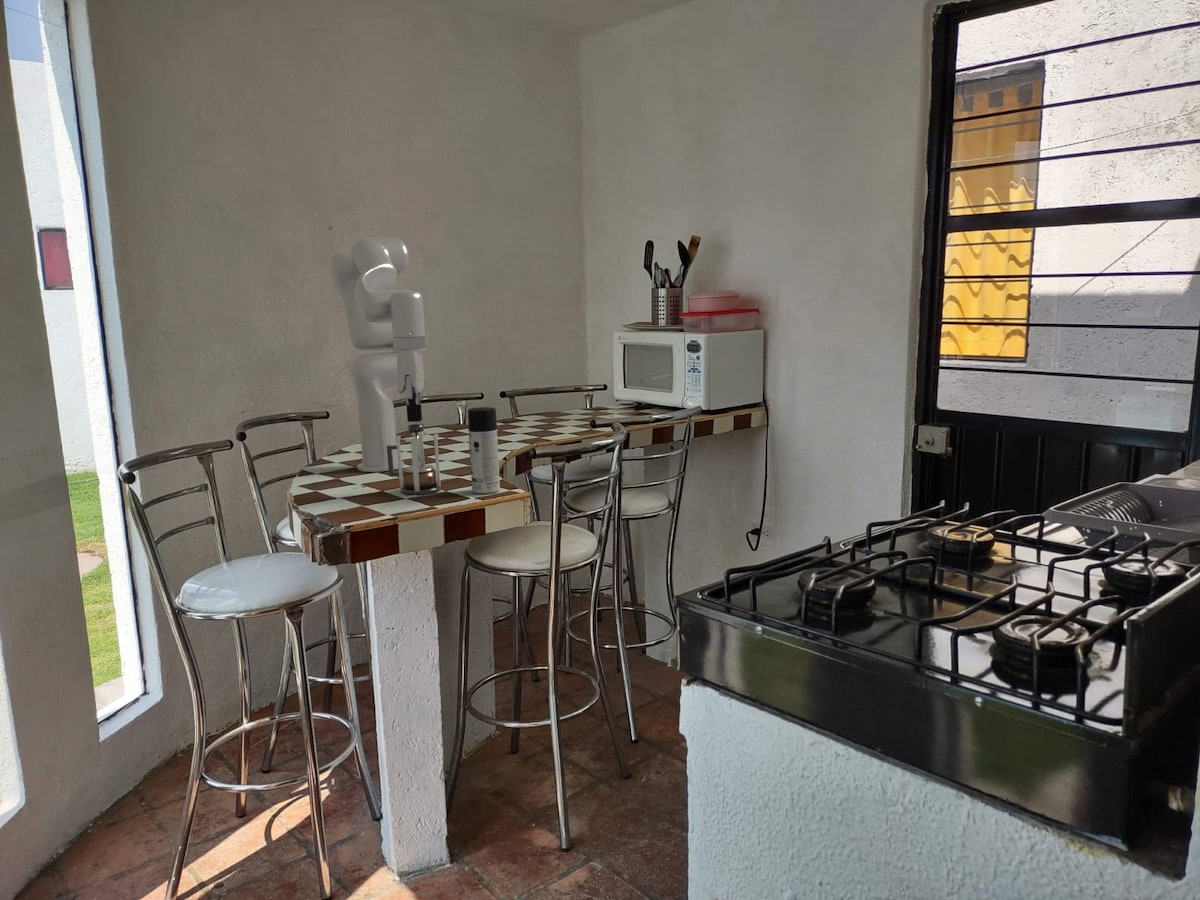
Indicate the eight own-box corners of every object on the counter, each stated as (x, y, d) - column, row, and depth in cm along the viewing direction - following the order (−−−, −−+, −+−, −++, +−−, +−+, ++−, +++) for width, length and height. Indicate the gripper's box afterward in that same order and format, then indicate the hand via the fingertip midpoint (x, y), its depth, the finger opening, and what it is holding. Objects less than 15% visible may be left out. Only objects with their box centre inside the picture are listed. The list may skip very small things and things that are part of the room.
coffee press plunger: (406, 467, 214) (403, 422, 212) (436, 466, 214) (433, 421, 212) (401, 474, 207) (397, 427, 204) (431, 472, 207) (428, 426, 205)
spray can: (474, 488, 212) (469, 407, 208) (502, 487, 212) (497, 406, 208) (469, 494, 205) (464, 411, 202) (498, 494, 205) (493, 410, 201)
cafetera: (394, 487, 216) (390, 433, 213) (443, 485, 216) (439, 431, 214) (387, 496, 206) (382, 440, 204) (437, 494, 207) (433, 438, 204)
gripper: (399, 342, 212) (404, 416, 216) (387, 347, 197) (393, 427, 201) (430, 341, 212) (435, 415, 216) (420, 346, 197) (425, 425, 201)
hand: (414, 420), depth 208 cm, fingers closed
